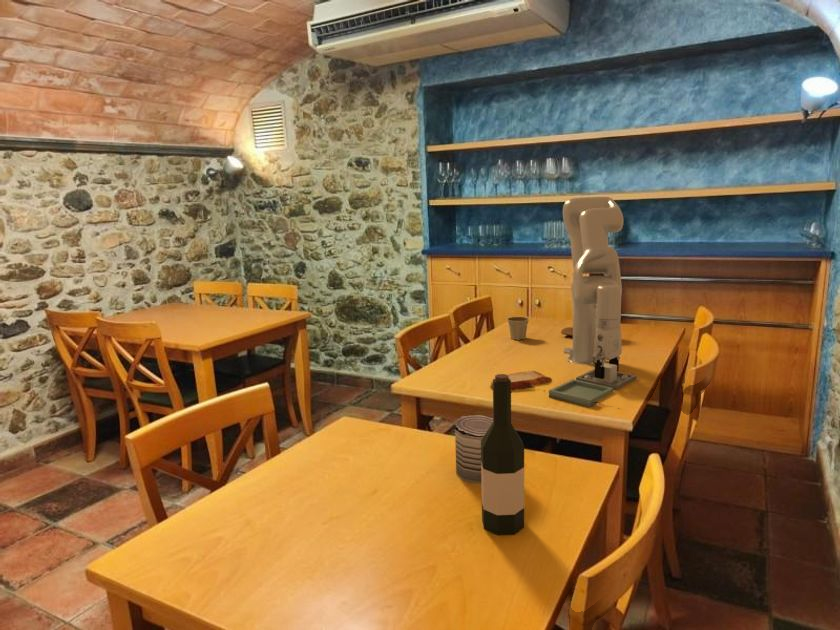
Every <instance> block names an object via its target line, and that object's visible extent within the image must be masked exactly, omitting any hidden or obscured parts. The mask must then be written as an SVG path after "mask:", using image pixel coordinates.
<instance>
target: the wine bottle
mask: <svg viewBox="0 0 840 630" xmlns="http://www.w3.org/2000/svg"><path fill="white" fill-rule="evenodd" d="M508 375H509V374H504V373H497V374H496V375H495V376H494V378H493V379H492V381H493V390H492V418H493V423H492V425H491V426H490V428H489V429H488V431H487V432H486V434H485V435H484V437H483V439H482V440H481V482H482V483H481V522H482V525H483V530H484V531H487V532H489V533H492V534H493V535H496V536H515V535H516V534H517V533H520V531H522V529H524V528H525V445H524V443H523V440H522V438H521V437H520V435H519V433H518V432H517V430H516V429H515V427H514V425H513V423H512V390H511V380H510V379H509V376H508Z"/></svg>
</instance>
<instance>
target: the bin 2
mask: <svg viewBox="0 0 840 630" xmlns="http://www.w3.org/2000/svg"><path fill="white" fill-rule="evenodd" d="M594 375H595V368H594V369H592V370H589V371H587V372H585V373H583V374H581V375H579V376H577V377H576V378H575V380H579V381H583V382H588V383H592V384H597V385H602V386H606V387H611V388H613V391H617V390H619V389H621V388H623V387H625V386H627V385H629V384H630V383H632V382H634V381H636V380H637V377H638V376H637V374H631V373H626V372H621V371H618V372H617V380H616V381H614V382H612V383H606V382H602V381H597V380H596V378H595V376H594Z"/></svg>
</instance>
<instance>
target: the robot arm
mask: <svg viewBox="0 0 840 630" xmlns="http://www.w3.org/2000/svg"><path fill="white" fill-rule="evenodd" d="M562 219H563V223H564V226H565V228H566V229H565V230H566V232H567V233H568V237H569V240H570V251H571V261H572V267H573V272H572V282H571V285H570V293H571V299H572V327H573V336H572V348H571V347H567V346H565V347H564V350H563V354H566V355H569V357H568V358H567V362H568V363H573V364H577V365H587V366H588V365H593V366H594V369H595V375H594V376H595V378H600V379H604V376H605V367H603V366H604V363H606V361H608V364H613V365H617V372H620V371H619V367H620V364H619V363H620V358H621V357H620V356H621V355H622V353H623V351H622V350H623V348H622V347H623V346H622V343H623V342H622V330H621V318H622V316H621V315H622V314H621V313H622V312H621V311H622V295H623V286H622V278H621V268H620V266H621V265H620V260H619V259H620V258H619V255H618V252H617V251H616V249H615V248H613V247H612V246H611V247H610V245H609V238H608V233H618V232H620V231H621V230H622V229H623V226H624V223H625V222H624V216H623V212H622V210H621V208H620V206H619V205H618V204H617V203H616V202H615V200H614V199H613V198H611V197H609V196H587V197H585V196H584V197H583V196H582V197H581V196H580V197H573V198H570V199H568V200H566V201H565V202H564V204H563V205H562ZM584 274H587V275H588V276H587V275H586V276H584ZM589 274H591V275H590V276H589ZM592 274H603V275H592ZM593 304H596V308H595V307H594V305H593Z"/></svg>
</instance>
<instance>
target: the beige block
mask: <svg viewBox="0 0 840 630" xmlns="http://www.w3.org/2000/svg"><path fill="white" fill-rule="evenodd" d="M603 367H605V376H604V379H600V378H596V380H597V381H602V382H606V383H612V382H614V381H616V380H617V365H613V364H609V362H608V363H607V362H605V363H604V366H603Z"/></svg>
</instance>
